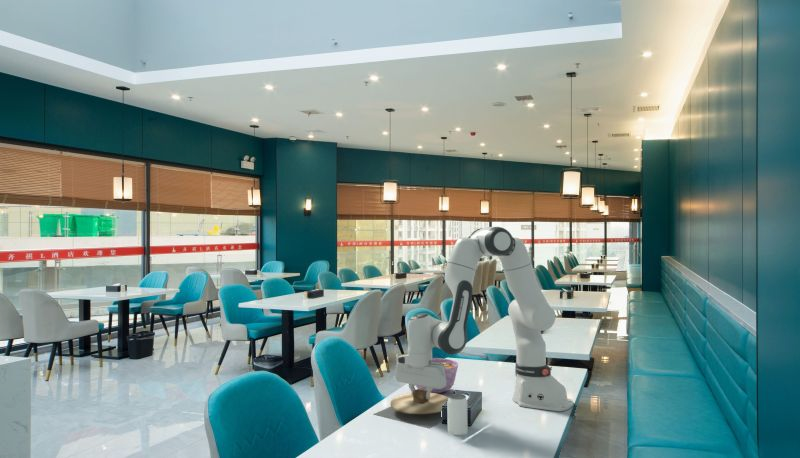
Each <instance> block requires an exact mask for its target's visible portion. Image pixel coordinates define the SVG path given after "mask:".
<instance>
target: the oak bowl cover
mask: <svg viewBox="0 0 800 458" xmlns="http://www.w3.org/2000/svg"><path fill="white" fill-rule="evenodd" d="M427 391H428V390H426V389H420V388H419V389H418V388H417V389H415V390H414V391H413V396H412V392H409V393H405V394H401V395H398V396H395V397H393V398H392V399H391V400H390V407H392V408H393V409H395V410H397V411H400V412H403V413H409V414H431V413H437V412H441V411H442V405H443V404H445V403H446V401H447V400H448V398H449V396H447V395H443V394H441V393H430V399H425V398H424V394H425V393H427Z"/></svg>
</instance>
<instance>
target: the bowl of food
mask: <svg viewBox="0 0 800 458" xmlns="http://www.w3.org/2000/svg"><path fill="white" fill-rule="evenodd" d="M432 361H436V362H441V363H442V364H443V365H444V366H445V375H446V386H445V387H444V388H442V389H435V388H433V389H432V391H431V393H436V394H441V393H442V394H443V393H445V392H448V391H449V390H451V389H452V387H453V386H454V385H455V382H456V381H455V380H456V376H457V372H458V367H459V363H458V362H457V361H456V360H452V359H448V358H439V357H432ZM415 388H417V389H419V388H420V389H426V387H424V386H419V385H415Z"/></svg>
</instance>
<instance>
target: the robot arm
mask: <svg viewBox="0 0 800 458" xmlns="http://www.w3.org/2000/svg"><path fill="white" fill-rule="evenodd" d="M529 254H530V253H529V251H528V250H527V246H526V245H525V243H524V241H523V240H522V239H520V238H518V237H513V236H512V234H511V233H510V231H508V230H507V229H506V228H504V227H500V226H486V227H484V228H481V227H480V228H478V229H476V230H474V231H473V232H471V234H470V235H469V236H468V237H460V238H458V239H457V240H456V241H455V243H454V245H453V247H452V249H451V251H450V253H449V256H448V259H447V263H446V265H445V269H444V278H443V279H444V282H445V284H446V286H447V287H448V288H449V290H450V291H451V294H452V305H451V310H450V315H449V320H448V322H446V321H444V320H440V319H437V318H436V317H433V316H431V315H430V314H429V313H425V312H423V313H421V312H420V313H416V314H413V315H411V316H410V317H409V319H408V321H407V329H406V330H407V332H406V333H407V335H406V336H407V337H406V338H407V343H408V345H407V346H408V347H407V353H404V354H402V355H399V356H397V357H396V359H395V363H396V365H395V372H394V373H395V380H396V381H397V383H403V384H408V387H409V390H410V392H411V393H412V396H413V391H414V390H416V385H419V386H424V387H426V390H428V391H427V393H425V394H424V398H425V399H430V393H431V391H432V389H433V388H435V389H442V388H444V387H445V386H446V375H445V366H444V365H443V364H442V363H441V362H436V361H432V358H433V348H438V349H440V350H441V351H443V352H444V353H446V355H454V356H455V355H457V354H459V353H461V352H462V351H463V350H464V349H465V347H466V345H467V342H468V334H467V326H468V325H467V324H468V320H469V314H470V311H471V304H472V299H473V291H474V290H473V287H474V280H475V275H476V271H477V268H478V263H479V262H480V260H481V258H482V257H498V258H499V260H500V262H501V266H502V269H503V273H504V277H505V280H506V285H507V288H508V290H509V291H510V293H511V294H512V296H513V297H514V299H513V300H511V302H510V304H509V305H508V309H507V312H508V315H509V318H510V320H511V323H512V328H513V333H514V337H515V344H516V345H515V347H516V351H515V352H516V353H515V354H516V361H515V369H514V371H515V373H514V374H515V386H514V393H513V395H512V400H513V401H514V402H515V403H516V404H518V406H520V407H524V408H531V409H539V410H546V411H547V410H548V411H554V412H564V411H567V410H569V409H571V408H572V407H573V406H574V401H573V399H571V398H568V395H567V390H566V387H565V385H563V384H562V383H561V382H560V381H558V380H557V379H556V378H555V377H554V376H553V375H552V373H551V372H552V368H553V366H549V365H548V364H547V359H546V358H547V355H546V354H547V350H546V349H547V347H546V346H547V345H546V341H545V340H544V338H543V334H542V331H547V330H549V329H551V328H552V327H553V326H554V324H555V322H556V313H555V311H554V309H553V308H552V307H551V305H550V304H549V302H548V301H547V298H546V297H545V295H544V292H543V291H542V289H541V287H540V285H539V282H538V280H537V276H536V274H535V271H534V267H533V263H532V260H531V256H530V255H529Z"/></svg>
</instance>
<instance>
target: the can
mask: <svg viewBox="0 0 800 458" xmlns="http://www.w3.org/2000/svg"><path fill="white" fill-rule="evenodd" d="M446 420H447V424H446V425H447V433H448V434H449V435H453V436H463V435H464V436H465V435H467V434H468V400H467V396H466V395H465V394H462V393H451V394H449V395H448V401H447V419H446Z"/></svg>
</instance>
